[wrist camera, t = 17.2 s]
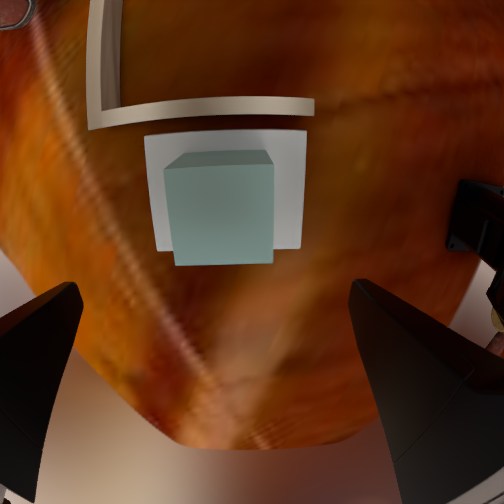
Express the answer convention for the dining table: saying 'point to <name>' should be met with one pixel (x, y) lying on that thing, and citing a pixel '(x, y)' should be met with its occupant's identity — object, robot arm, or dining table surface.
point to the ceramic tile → (272, 140)
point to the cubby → (110, 112)
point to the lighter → (16, 13)
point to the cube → (221, 207)
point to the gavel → (500, 339)
